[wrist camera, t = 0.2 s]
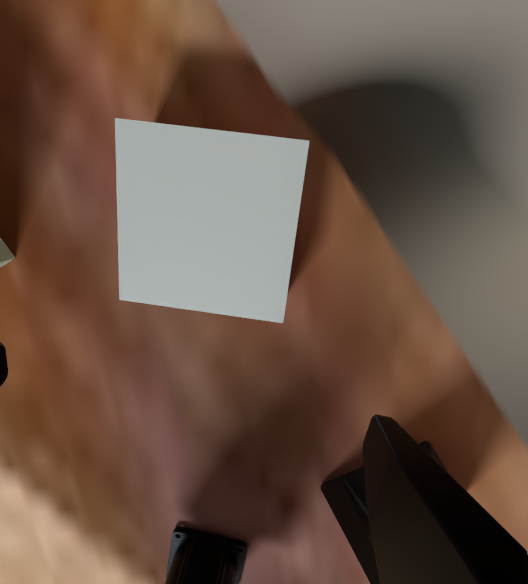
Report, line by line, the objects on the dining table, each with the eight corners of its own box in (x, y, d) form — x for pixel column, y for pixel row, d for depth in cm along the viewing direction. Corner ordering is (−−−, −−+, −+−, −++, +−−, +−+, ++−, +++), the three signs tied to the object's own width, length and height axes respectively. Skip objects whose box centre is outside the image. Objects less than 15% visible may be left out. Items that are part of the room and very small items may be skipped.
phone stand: (428, 439, 25) (535, 654, 14) (462, 495, 27) (584, 732, 15) (320, 483, 28) (336, 699, 16) (356, 533, 29) (394, 764, 18)
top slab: (285, 306, 21) (282, 323, 19) (139, 285, 21) (119, 299, 19) (308, 144, 18) (309, 140, 16) (138, 125, 18) (115, 118, 16)
